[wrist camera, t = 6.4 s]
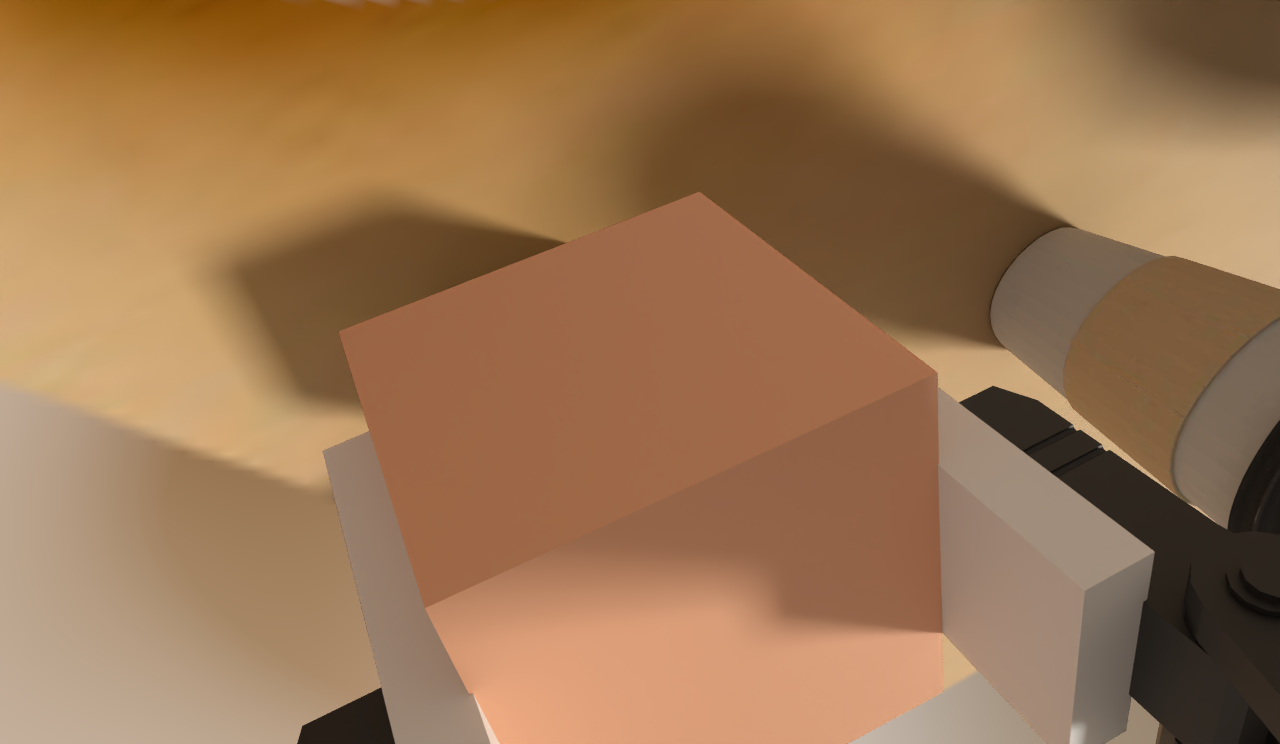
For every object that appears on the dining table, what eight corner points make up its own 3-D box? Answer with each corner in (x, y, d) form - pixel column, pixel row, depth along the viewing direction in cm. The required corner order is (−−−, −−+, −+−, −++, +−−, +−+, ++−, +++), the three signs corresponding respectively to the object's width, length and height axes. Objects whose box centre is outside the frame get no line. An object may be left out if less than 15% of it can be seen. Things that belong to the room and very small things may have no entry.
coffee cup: (1059, 394, 45) (1380, 604, 33) (919, 373, 40) (1235, 611, 28) (1163, 207, 42) (1562, 369, 30) (1023, 161, 37) (1432, 331, 25)
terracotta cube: (699, 191, 13) (937, 372, 9) (748, 464, 16) (943, 691, 12) (338, 331, 12) (424, 608, 8) (463, 596, 15) (572, 894, 11)
